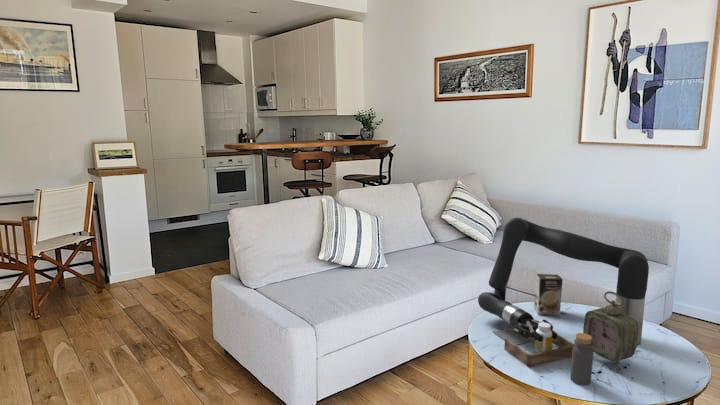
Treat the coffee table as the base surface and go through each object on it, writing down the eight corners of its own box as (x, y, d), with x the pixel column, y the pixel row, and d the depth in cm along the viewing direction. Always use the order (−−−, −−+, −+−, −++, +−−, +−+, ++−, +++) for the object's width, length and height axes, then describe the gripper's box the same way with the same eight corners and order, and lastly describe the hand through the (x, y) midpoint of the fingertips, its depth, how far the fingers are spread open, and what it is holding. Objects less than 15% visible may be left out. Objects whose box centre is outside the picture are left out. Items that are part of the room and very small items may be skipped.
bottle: (566, 375, 149) (569, 332, 146) (584, 374, 150) (587, 331, 147) (576, 386, 143) (579, 341, 141) (594, 385, 144) (598, 340, 141)
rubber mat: (492, 332, 180) (492, 331, 180) (518, 327, 184) (518, 326, 184) (512, 346, 169) (512, 345, 169) (538, 340, 173) (539, 339, 173)
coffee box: (537, 315, 194) (539, 278, 191) (533, 309, 200) (535, 273, 198) (560, 315, 193) (562, 279, 190) (555, 309, 200) (557, 273, 197)
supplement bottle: (550, 348, 164) (552, 322, 162) (551, 355, 159) (553, 329, 157) (534, 345, 165) (536, 320, 164) (534, 353, 160) (536, 327, 159)
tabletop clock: (581, 355, 161) (586, 287, 157) (599, 350, 165) (605, 283, 160) (618, 376, 148) (625, 302, 144) (638, 369, 152) (645, 297, 147)
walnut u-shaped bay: (504, 349, 166) (504, 339, 166) (549, 339, 173) (550, 329, 172) (528, 367, 154) (529, 356, 154) (576, 356, 161) (577, 345, 160)
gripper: (501, 311, 171) (532, 331, 155) (533, 305, 176) (566, 324, 160) (500, 330, 173) (531, 351, 157) (532, 324, 177) (565, 344, 162)
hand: (549, 337), depth 159 cm, fingers closed on supplement bottle, 5 cm apart
